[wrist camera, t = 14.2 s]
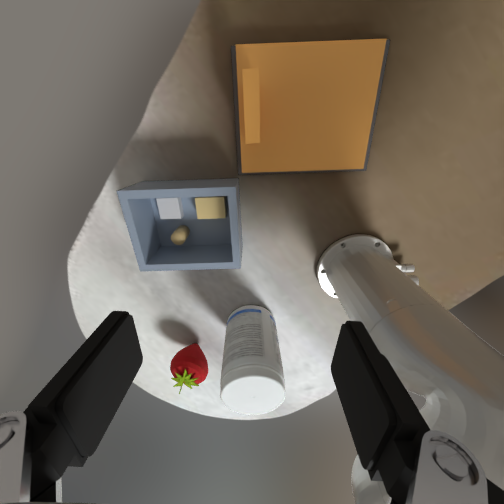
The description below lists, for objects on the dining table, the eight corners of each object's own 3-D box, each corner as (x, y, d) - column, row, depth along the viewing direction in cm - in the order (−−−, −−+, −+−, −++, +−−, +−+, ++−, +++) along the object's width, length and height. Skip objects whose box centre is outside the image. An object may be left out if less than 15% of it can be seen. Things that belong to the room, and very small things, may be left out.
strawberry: (201, 360, 49) (191, 408, 40) (173, 343, 47) (154, 391, 38) (218, 345, 47) (211, 393, 38) (189, 328, 45) (174, 374, 36)
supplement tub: (219, 328, 45) (206, 405, 32) (241, 295, 42) (236, 366, 28) (261, 344, 47) (264, 423, 34) (285, 314, 44) (299, 389, 31)
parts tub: (238, 178, 32) (235, 186, 26) (242, 247, 37) (240, 268, 31) (142, 181, 32) (116, 190, 26) (158, 249, 37) (140, 271, 31)
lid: (377, 45, 25) (426, 8, 18) (356, 167, 31) (388, 174, 24) (236, 51, 26) (231, 15, 18) (242, 171, 31) (239, 179, 24)
